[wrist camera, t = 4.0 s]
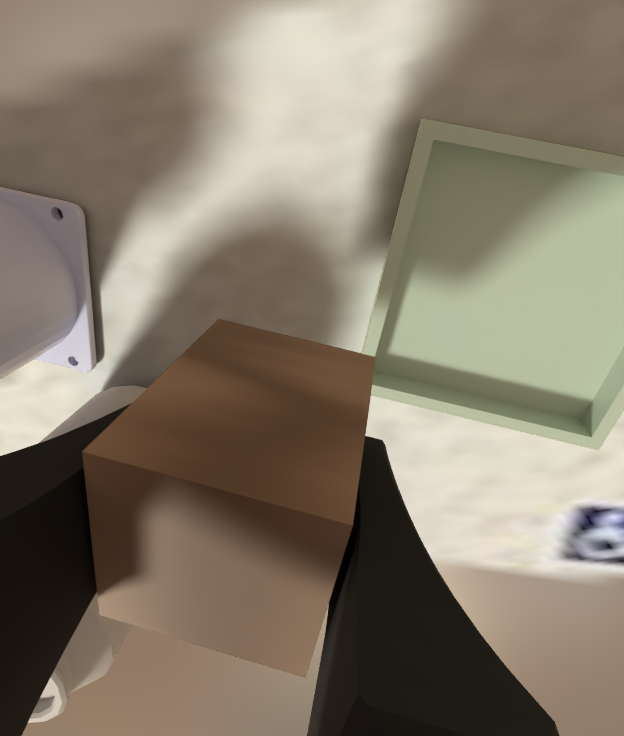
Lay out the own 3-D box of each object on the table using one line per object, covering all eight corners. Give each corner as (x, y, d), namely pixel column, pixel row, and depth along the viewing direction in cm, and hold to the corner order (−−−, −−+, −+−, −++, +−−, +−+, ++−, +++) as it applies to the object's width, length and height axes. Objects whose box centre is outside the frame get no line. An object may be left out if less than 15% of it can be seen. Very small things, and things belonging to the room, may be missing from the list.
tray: (356, 372, 20) (353, 390, 18) (420, 119, 15) (422, 118, 14) (584, 427, 19) (598, 450, 18) (730, 178, 14) (765, 183, 13)
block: (209, 443, 15) (98, 615, 9) (218, 319, 12) (81, 451, 7) (342, 478, 14) (305, 678, 9) (375, 356, 12) (352, 525, 7)
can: (109, 483, 26) (-86, 714, 16) (76, 371, 23) (-204, 573, 12) (230, 498, 25) (105, 760, 14) (214, 382, 21) (36, 617, 11)
